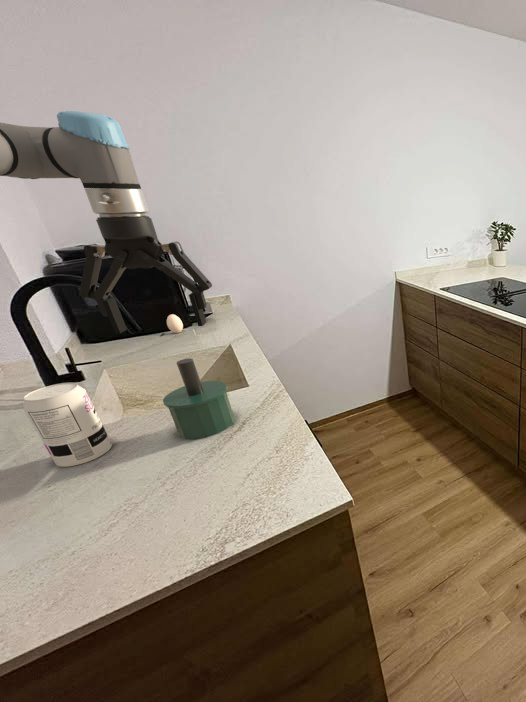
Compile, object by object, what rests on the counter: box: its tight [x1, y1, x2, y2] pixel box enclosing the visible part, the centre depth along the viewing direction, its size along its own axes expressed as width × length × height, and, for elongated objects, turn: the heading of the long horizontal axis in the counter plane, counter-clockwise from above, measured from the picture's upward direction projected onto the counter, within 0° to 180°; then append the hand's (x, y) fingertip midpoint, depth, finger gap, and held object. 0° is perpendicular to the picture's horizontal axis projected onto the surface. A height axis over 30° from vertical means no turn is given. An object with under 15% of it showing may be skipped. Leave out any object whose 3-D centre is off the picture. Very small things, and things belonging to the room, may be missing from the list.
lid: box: [162, 357, 228, 409], centre depth 80 cm, size 11×11×9 cm
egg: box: [166, 313, 184, 334], centre depth 145 cm, size 5×5×7 cm
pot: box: [167, 391, 236, 440], centre depth 83 cm, size 10×10×8 cm
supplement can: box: [22, 382, 113, 468], centre depth 73 cm, size 8×8×15 cm
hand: (163, 328), depth 76 cm, fingers open, 13 cm apart
